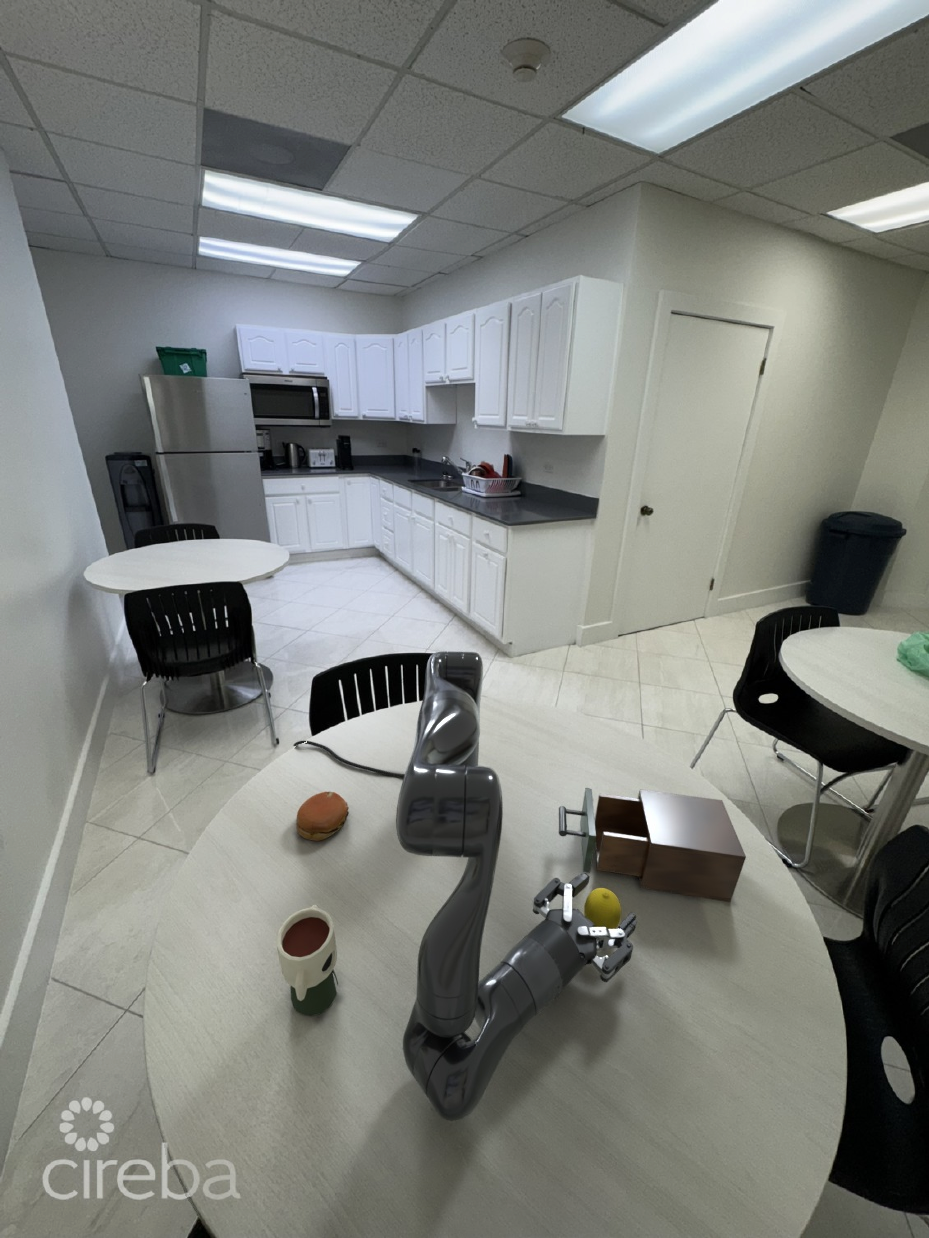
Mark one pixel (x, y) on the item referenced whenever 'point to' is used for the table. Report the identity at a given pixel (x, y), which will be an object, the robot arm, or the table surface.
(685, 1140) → the table surface
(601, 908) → the lemon
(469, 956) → the robot arm
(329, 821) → the burger
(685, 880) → the cabinet
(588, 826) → the drawer
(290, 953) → the character mug
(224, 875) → the table surface
